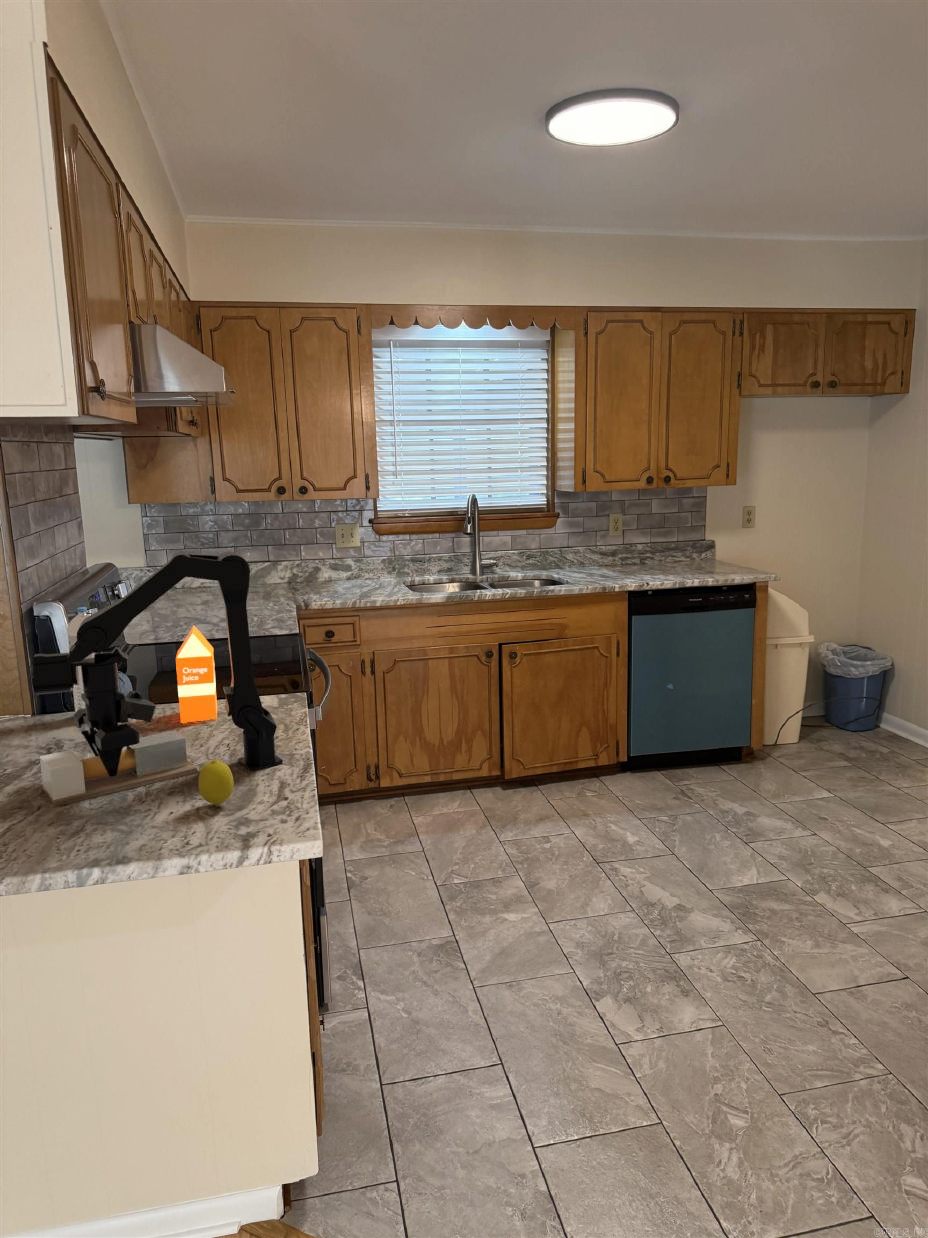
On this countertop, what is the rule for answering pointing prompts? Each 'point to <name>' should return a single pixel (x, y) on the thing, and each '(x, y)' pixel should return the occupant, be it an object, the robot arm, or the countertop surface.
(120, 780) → the walnut board
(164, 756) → the steel sleeve
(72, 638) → the water bottle
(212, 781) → the lemon
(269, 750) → the robot arm
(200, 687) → the orange juice
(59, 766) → the white socket
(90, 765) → the orange tube
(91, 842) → the countertop surface
